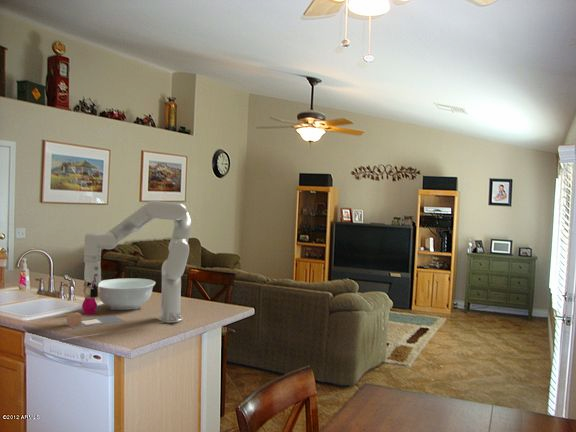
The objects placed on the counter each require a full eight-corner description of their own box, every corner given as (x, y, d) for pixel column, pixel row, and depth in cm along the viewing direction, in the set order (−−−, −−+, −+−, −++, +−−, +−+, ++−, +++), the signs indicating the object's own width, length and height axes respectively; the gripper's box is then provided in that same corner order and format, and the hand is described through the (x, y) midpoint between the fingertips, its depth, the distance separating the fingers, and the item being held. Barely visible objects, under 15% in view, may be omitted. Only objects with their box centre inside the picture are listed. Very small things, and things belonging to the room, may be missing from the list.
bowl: (80, 311, 259) (81, 284, 258) (118, 300, 290) (119, 276, 289) (132, 317, 249) (133, 289, 249) (166, 305, 280) (166, 280, 280)
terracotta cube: (81, 324, 229) (81, 314, 228) (70, 326, 225) (70, 315, 225) (77, 322, 232) (77, 312, 232) (66, 324, 229) (66, 313, 229)
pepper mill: (87, 317, 247) (88, 278, 247) (78, 315, 251) (79, 276, 250) (99, 314, 253) (100, 276, 253) (91, 312, 257) (91, 275, 257)
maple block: (99, 297, 233) (100, 286, 233) (87, 298, 229) (87, 288, 229) (95, 295, 238) (95, 285, 238) (82, 296, 234) (83, 286, 234)
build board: (125, 323, 238) (125, 320, 238) (72, 330, 222) (72, 328, 222) (113, 317, 249) (113, 315, 249) (62, 324, 232) (62, 322, 232)
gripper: (107, 260, 229) (106, 298, 230) (93, 256, 242) (92, 292, 243) (91, 261, 224) (90, 300, 225) (78, 257, 237) (77, 293, 238)
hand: (91, 295), depth 234 cm, fingers closed on maple block, 6 cm apart
